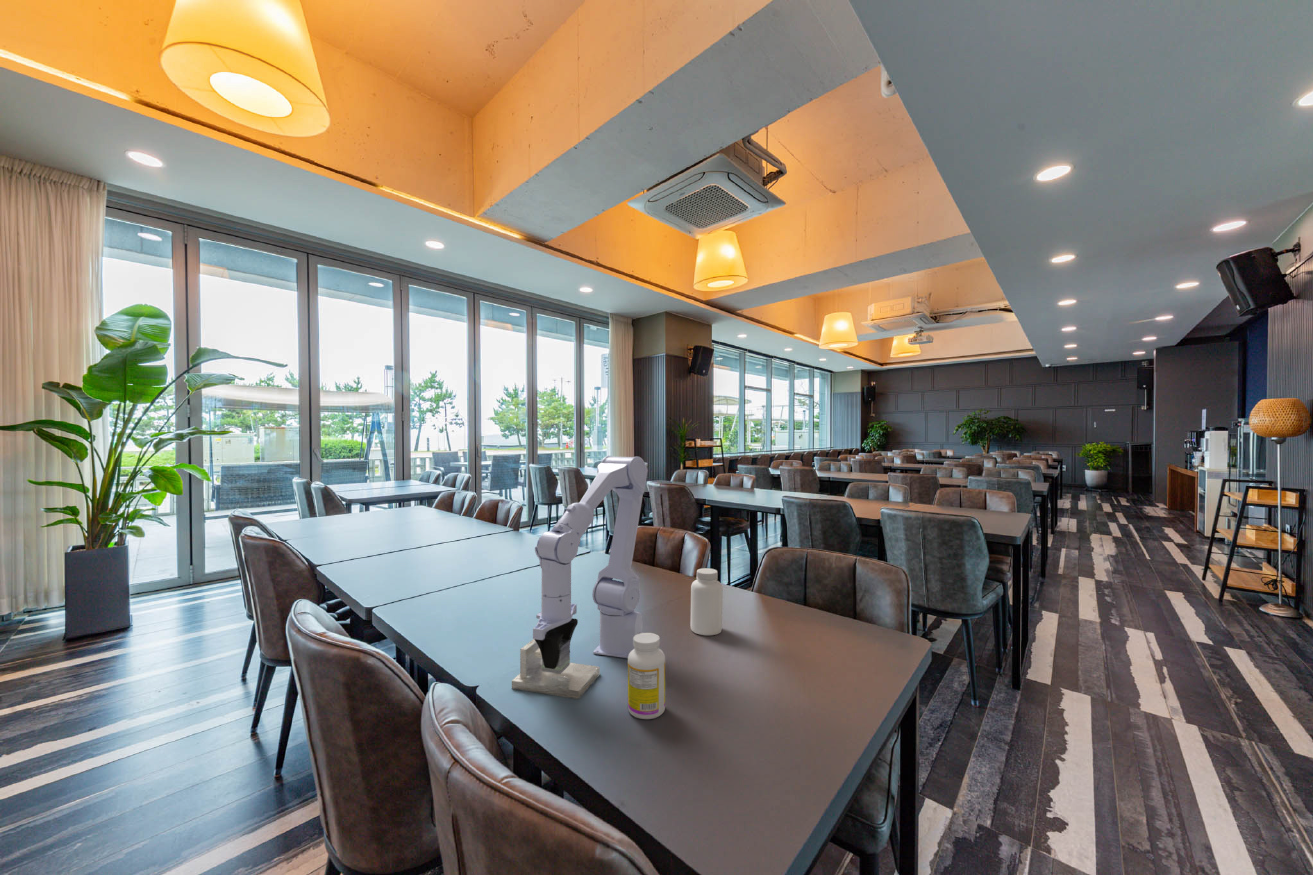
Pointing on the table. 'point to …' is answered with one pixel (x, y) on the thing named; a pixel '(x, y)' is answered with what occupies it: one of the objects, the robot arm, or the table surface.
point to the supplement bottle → (646, 677)
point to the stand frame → (552, 675)
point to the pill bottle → (706, 603)
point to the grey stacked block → (560, 658)
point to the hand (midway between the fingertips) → (556, 662)
